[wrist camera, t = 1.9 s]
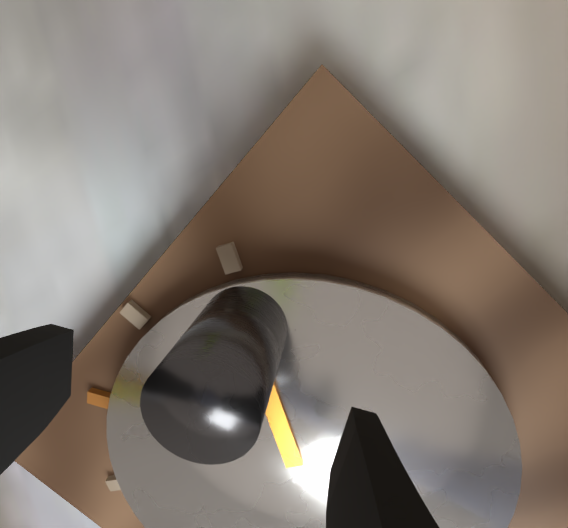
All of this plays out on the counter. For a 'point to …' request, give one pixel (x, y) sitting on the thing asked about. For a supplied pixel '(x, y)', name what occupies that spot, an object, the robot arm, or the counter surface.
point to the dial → (303, 407)
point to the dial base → (340, 263)
